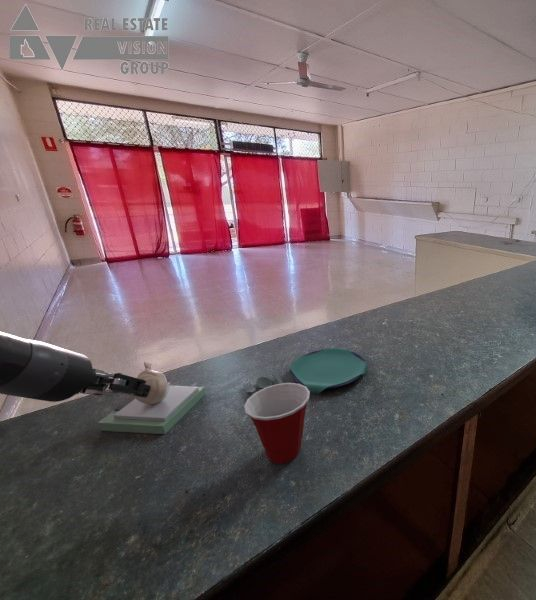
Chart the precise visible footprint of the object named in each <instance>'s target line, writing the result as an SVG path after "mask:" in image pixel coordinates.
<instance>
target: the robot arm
mask: <svg viewBox="0 0 536 600" xmlns="http://www.w3.org/2000/svg"><path fill="white" fill-rule="evenodd" d="M145 383H146V381H145V380H144V379H138V378H137V377H134V376H130V375H127V374H124V373H121V372H117V373H116V372H115V373H114V372H113V373H112V372H107V371H105V370H104V369H98V368H94V367H93V364H92V361H91V360H90V358H89V357H87V356H86V355H85V354H83V353H79V352H76V351H73V350H70V349H66V348H63V347H61V346H57V345H55V344H51V343H48V342H45V341H41V340H36V339H31V338H25V337H21V336H18V335H16V334H15V335H14V334H12V333H9V332H5V331H2V330H0V395H5V396H9V397H10V396H11V397H18V398H25V399H31V400H37V401H44V402H50V403H56V402H63V401H65V400H69V399H70V398H72V397H74V396H76V395H79V394H82V395H83V394H84V395H94V396H103V395H104V396H113V397H114V396H117V395H118V394H121V395H127V396H130V397H132V396H138V397H145V398H146V397H147V396H148V395H149V392H150V390H151V386H150V385H146V384H145ZM107 389H108V390H107Z"/></svg>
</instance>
